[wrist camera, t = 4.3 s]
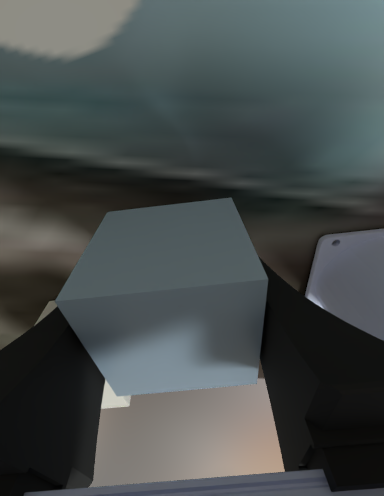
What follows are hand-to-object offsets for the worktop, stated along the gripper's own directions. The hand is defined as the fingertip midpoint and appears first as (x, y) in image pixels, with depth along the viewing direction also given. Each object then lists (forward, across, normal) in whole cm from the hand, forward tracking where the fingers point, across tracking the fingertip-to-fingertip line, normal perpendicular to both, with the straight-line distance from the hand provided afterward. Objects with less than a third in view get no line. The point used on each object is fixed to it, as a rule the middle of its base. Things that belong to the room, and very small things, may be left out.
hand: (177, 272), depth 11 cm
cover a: (+1, 0, 0) cm, 1 cm away
